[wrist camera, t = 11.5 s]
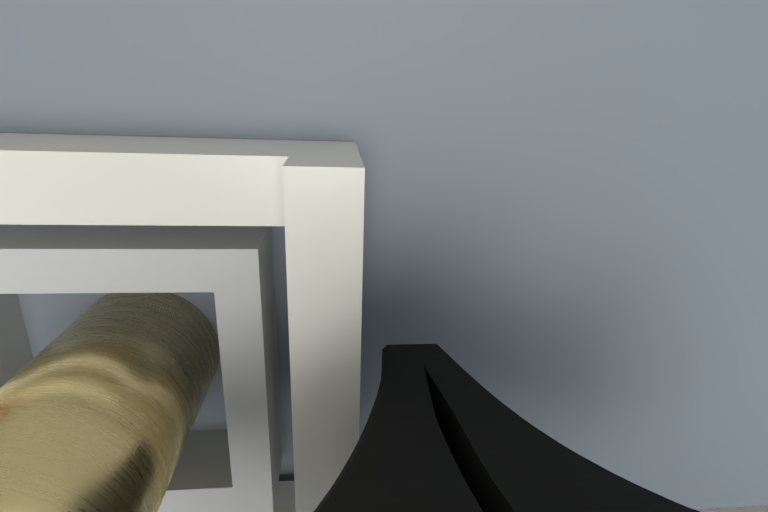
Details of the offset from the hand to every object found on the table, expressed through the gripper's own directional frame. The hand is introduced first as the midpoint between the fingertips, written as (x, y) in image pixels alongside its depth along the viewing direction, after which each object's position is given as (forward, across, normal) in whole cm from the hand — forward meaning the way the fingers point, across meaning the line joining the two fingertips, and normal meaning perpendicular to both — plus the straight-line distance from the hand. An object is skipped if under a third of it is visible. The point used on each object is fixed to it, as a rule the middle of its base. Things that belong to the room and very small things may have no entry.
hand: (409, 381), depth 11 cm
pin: (+2, +6, 0) cm, 6 cm away
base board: (+3, -1, -2) cm, 4 cm away
